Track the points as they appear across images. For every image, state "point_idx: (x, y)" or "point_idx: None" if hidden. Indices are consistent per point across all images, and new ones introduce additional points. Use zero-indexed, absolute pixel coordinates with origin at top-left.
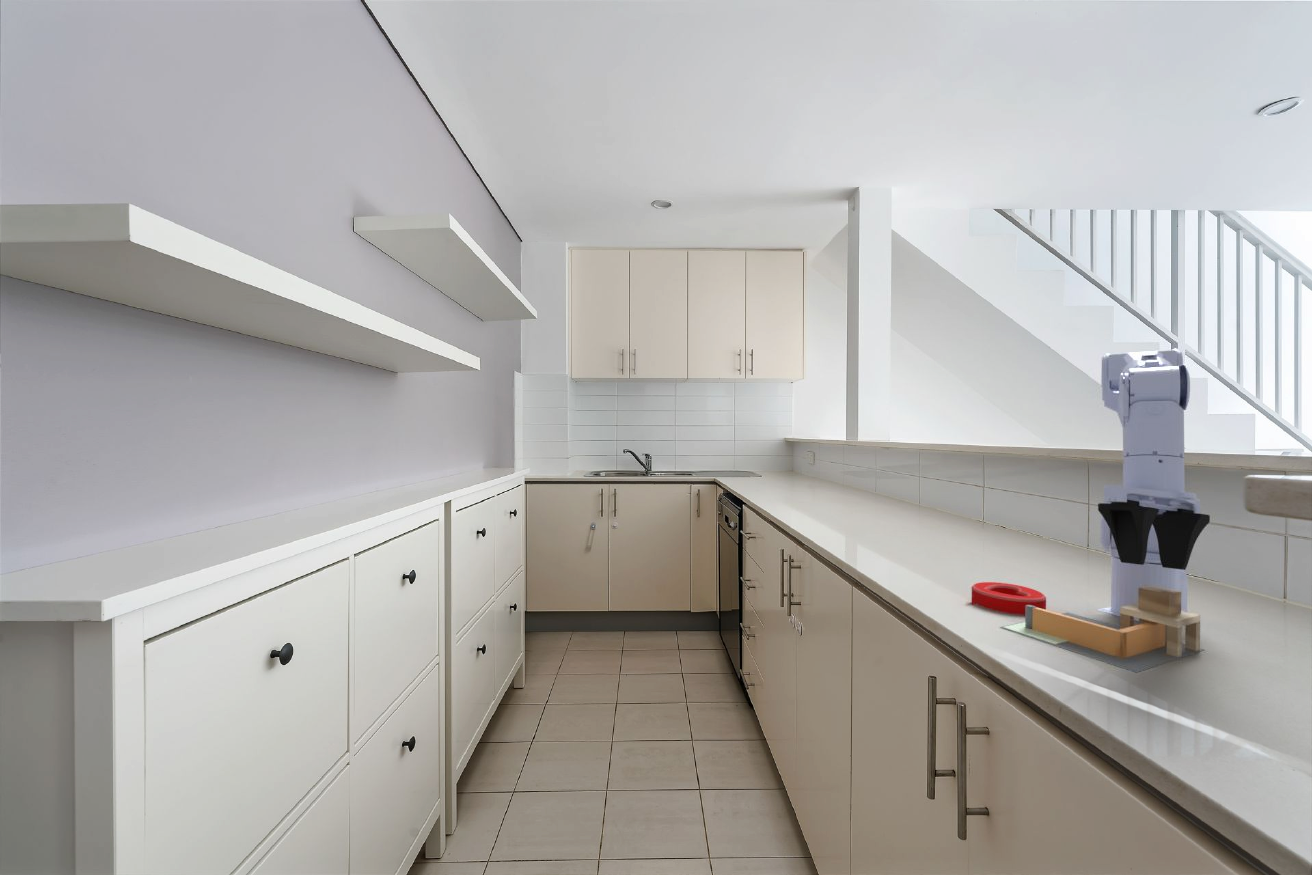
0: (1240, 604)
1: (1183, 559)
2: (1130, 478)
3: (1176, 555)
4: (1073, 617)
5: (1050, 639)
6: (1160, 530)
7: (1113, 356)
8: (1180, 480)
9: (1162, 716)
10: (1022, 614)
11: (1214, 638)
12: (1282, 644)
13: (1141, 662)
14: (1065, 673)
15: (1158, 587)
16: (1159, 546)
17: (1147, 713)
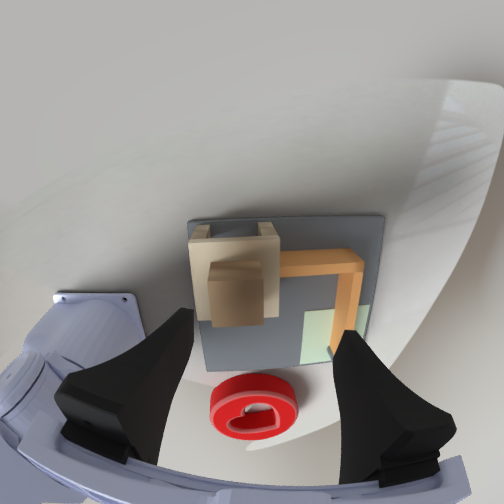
0: None
1: (184, 325)
2: None
3: (182, 343)
4: (346, 325)
5: (358, 315)
6: (162, 420)
7: None
8: None
9: (449, 163)
10: (278, 381)
11: (95, 251)
12: (40, 207)
13: (343, 231)
14: (426, 253)
15: (218, 313)
16: (177, 385)
17: (453, 172)
